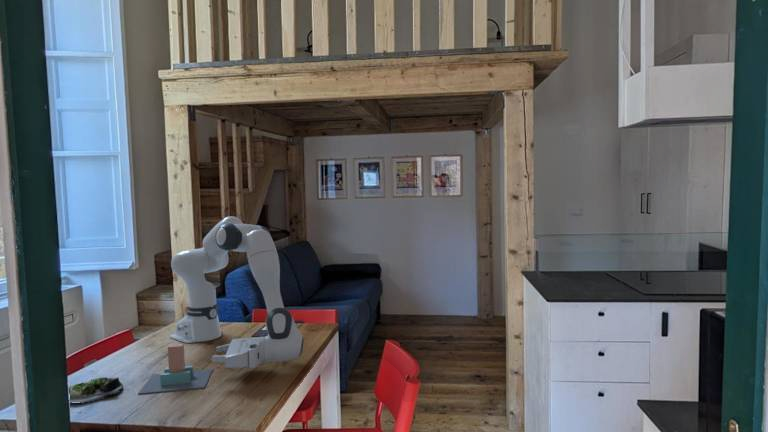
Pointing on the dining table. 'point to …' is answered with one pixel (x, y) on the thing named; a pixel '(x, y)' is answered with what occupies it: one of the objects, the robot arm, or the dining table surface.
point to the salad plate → (95, 389)
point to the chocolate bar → (261, 332)
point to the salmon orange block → (176, 358)
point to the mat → (196, 383)
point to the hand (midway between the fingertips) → (214, 353)
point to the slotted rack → (177, 376)
